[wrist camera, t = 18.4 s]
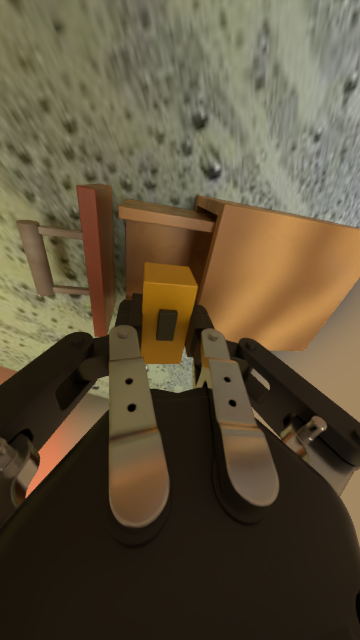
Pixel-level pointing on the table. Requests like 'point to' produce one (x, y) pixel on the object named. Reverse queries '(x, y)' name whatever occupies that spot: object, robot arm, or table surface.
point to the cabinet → (275, 273)
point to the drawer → (141, 246)
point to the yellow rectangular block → (166, 311)
